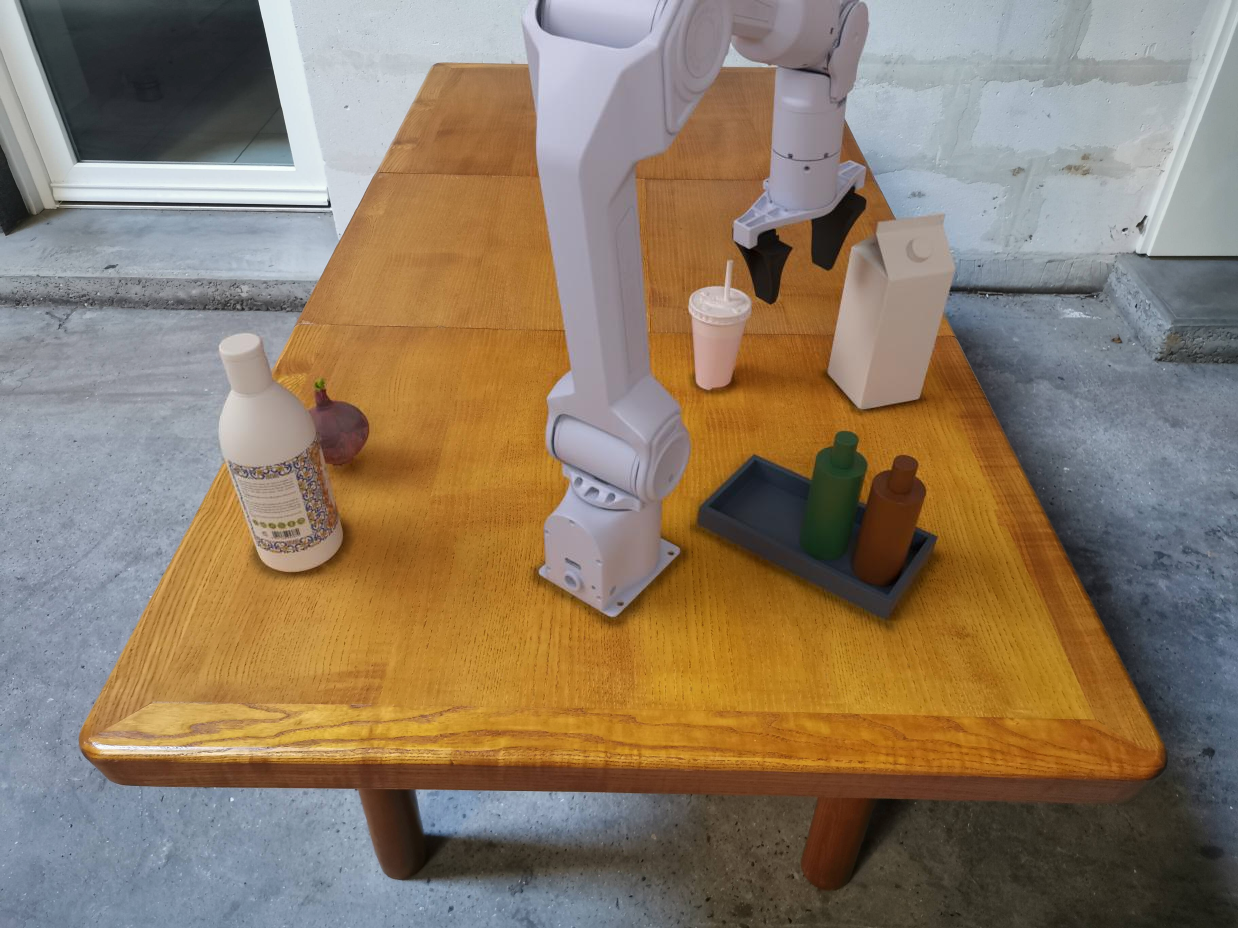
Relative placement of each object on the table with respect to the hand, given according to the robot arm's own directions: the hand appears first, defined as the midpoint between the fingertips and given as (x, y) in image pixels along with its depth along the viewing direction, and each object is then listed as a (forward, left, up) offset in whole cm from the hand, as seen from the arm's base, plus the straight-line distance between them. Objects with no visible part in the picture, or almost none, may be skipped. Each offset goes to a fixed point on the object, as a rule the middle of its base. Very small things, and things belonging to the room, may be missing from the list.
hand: (794, 282), depth 83 cm
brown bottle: (-17, -19, -13) cm, 28 cm away
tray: (-17, -13, -14) cm, 25 cm away
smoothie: (-1, +7, -14) cm, 16 cm away
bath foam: (-44, +21, -14) cm, 50 cm away
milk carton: (+8, -7, -14) cm, 18 cm away
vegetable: (-35, +27, -14) cm, 46 cm away
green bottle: (-17, -14, -13) cm, 25 cm away
